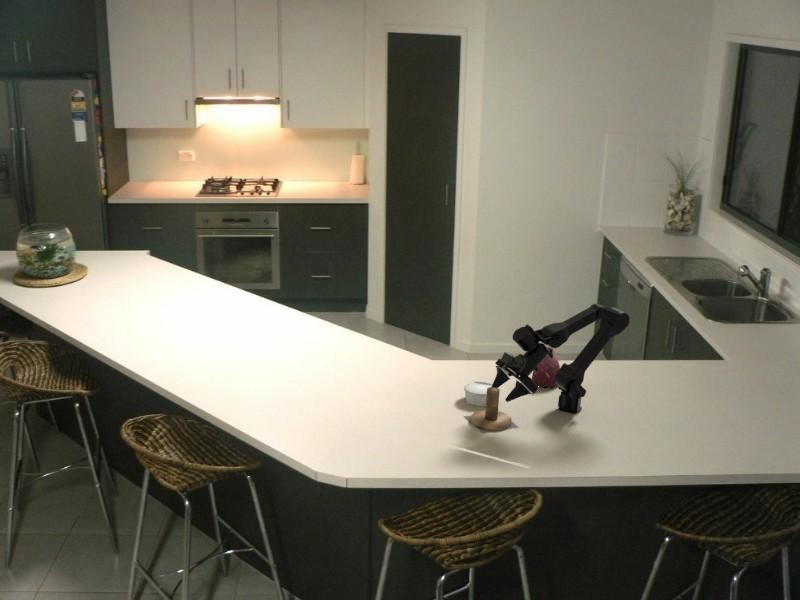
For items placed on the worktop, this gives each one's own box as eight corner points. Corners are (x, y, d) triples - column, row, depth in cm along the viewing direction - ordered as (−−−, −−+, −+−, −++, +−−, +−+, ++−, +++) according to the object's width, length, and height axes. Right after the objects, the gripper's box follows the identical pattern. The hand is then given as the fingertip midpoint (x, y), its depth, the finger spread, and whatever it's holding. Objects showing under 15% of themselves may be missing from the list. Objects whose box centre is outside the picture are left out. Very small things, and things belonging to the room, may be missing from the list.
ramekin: (497, 396, 343) (498, 382, 341) (496, 410, 332) (497, 395, 330) (464, 394, 344) (465, 379, 342) (462, 407, 333) (463, 392, 331)
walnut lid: (517, 419, 324) (520, 387, 321) (501, 434, 313) (504, 401, 310) (480, 410, 330) (482, 378, 326) (463, 424, 319) (466, 391, 315)
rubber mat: (498, 412, 330) (498, 410, 330) (518, 428, 319) (518, 427, 319) (463, 418, 325) (463, 416, 324) (482, 435, 313) (483, 433, 313)
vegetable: (538, 383, 363) (540, 342, 362) (565, 387, 357) (567, 344, 357) (526, 386, 354) (528, 343, 353) (553, 389, 348) (556, 346, 348)
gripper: (502, 334, 325) (470, 370, 323) (533, 354, 309) (499, 392, 307) (521, 354, 330) (489, 389, 329) (552, 375, 314) (519, 412, 313)
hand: (498, 395), depth 320 cm, fingers open, 9 cm apart
